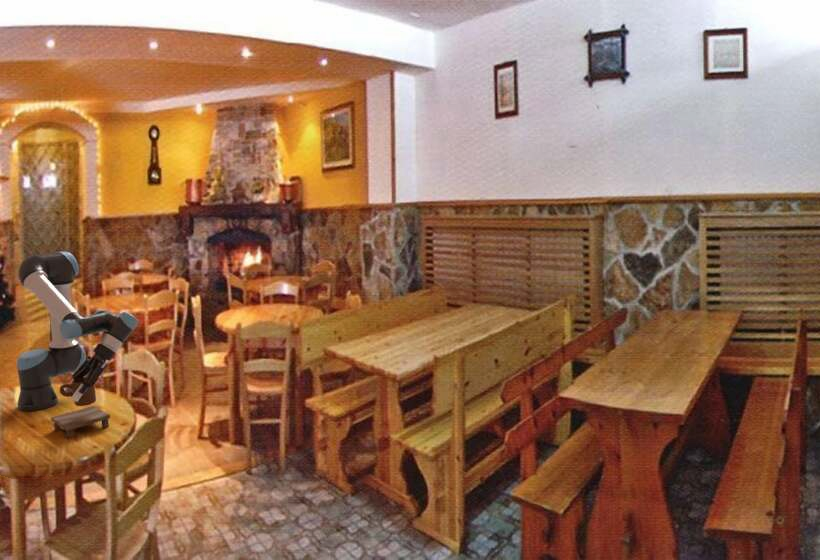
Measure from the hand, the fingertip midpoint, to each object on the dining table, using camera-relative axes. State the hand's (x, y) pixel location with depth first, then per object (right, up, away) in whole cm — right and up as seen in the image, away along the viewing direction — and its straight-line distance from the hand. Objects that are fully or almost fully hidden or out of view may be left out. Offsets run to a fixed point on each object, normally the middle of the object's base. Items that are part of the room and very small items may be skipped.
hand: (69, 397), depth 247 cm
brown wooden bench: (+2, -13, +5) cm, 14 cm away
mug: (+2, -3, +3) cm, 5 cm away
